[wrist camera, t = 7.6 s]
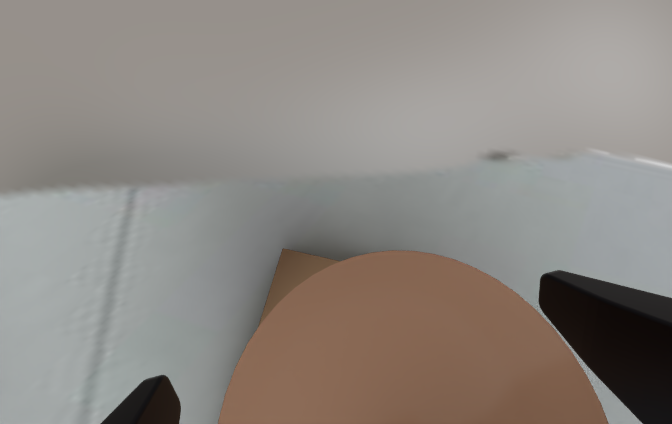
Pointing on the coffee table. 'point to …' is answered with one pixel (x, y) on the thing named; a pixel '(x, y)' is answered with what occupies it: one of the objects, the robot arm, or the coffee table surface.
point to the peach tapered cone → (407, 352)
